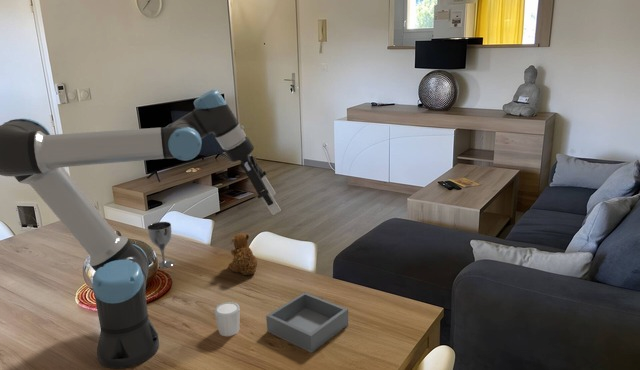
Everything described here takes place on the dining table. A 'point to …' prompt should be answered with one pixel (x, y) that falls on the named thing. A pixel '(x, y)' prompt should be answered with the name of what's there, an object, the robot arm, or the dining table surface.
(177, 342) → the dining table surface
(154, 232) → the wine glass
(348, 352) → the dining table surface
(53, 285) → the dining table surface
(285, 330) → the charcoal bin
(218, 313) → the white cup
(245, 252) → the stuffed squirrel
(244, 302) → the dining table surface
